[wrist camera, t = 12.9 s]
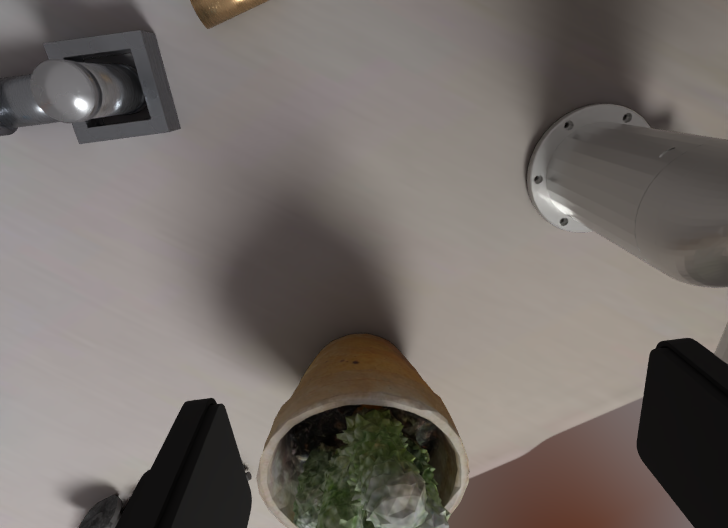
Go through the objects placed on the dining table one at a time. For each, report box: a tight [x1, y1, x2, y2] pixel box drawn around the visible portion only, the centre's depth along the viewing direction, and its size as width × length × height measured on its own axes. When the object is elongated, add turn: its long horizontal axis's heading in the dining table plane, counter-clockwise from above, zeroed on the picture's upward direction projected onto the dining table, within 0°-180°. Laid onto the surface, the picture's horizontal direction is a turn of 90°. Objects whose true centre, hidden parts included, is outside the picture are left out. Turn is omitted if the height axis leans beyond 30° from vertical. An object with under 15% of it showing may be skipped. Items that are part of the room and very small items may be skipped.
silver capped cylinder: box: [30, 59, 147, 123], centre depth 36 cm, size 4×4×10 cm
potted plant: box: [257, 334, 470, 528], centre depth 41 cm, size 18×19×25 cm
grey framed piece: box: [0, 30, 181, 144], centre depth 38 cm, size 15×8×5 cm, turn 97°
